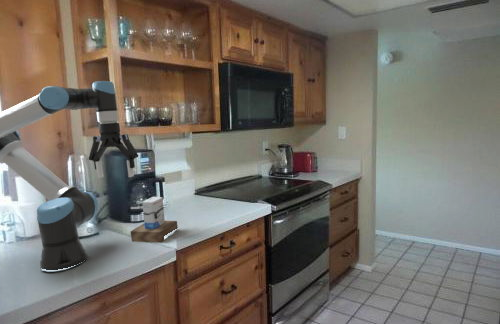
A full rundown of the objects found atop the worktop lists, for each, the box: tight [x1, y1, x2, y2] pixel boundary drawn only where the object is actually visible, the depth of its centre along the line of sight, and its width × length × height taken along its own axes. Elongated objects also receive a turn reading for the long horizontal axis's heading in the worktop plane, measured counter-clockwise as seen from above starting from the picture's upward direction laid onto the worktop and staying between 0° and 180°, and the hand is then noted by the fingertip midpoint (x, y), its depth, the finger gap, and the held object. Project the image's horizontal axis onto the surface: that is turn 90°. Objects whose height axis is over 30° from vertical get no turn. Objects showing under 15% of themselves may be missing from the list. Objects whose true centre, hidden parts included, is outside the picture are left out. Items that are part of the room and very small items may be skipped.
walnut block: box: [130, 220, 179, 244], centre depth 146 cm, size 14×14×5 cm
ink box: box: [142, 196, 166, 229], centre depth 145 cm, size 8×5×12 cm, turn 163°
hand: (116, 177), depth 133 cm, fingers open, 13 cm apart
